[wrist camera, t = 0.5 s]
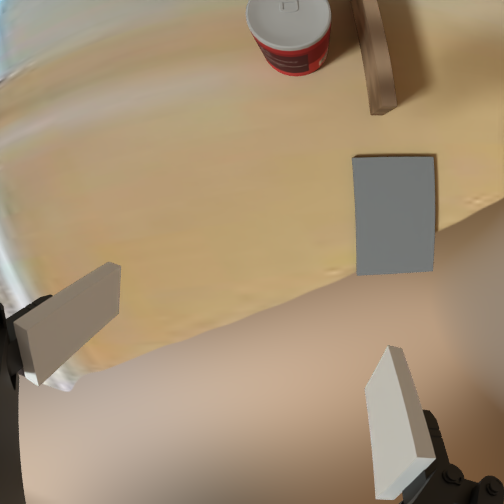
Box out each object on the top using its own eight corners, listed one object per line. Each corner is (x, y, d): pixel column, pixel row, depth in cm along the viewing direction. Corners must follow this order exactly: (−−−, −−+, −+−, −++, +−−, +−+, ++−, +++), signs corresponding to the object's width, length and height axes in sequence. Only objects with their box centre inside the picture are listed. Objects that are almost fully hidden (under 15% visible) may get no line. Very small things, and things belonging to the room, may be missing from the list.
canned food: (315, 14, 31) (313, -30, 20) (337, 69, 33) (344, 38, 22) (255, 30, 33) (234, -10, 22) (274, 85, 34) (259, 59, 24)
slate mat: (351, 158, 35) (352, 158, 34) (431, 156, 33) (433, 156, 32) (356, 273, 39) (357, 275, 38) (430, 268, 37) (432, 271, 36)
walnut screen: (349, -2, 29) (355, -29, 23) (361, -2, 29) (368, -28, 22) (370, 115, 33) (382, 106, 27) (383, 115, 33) (397, 106, 26)
